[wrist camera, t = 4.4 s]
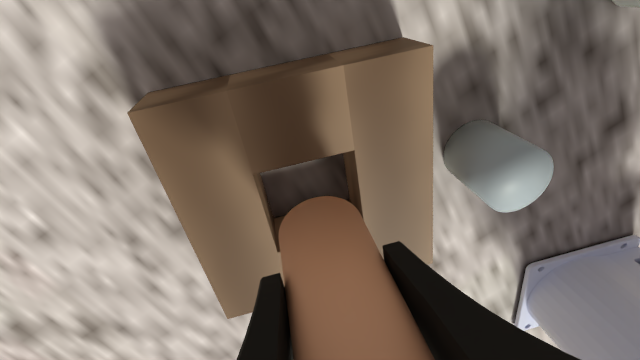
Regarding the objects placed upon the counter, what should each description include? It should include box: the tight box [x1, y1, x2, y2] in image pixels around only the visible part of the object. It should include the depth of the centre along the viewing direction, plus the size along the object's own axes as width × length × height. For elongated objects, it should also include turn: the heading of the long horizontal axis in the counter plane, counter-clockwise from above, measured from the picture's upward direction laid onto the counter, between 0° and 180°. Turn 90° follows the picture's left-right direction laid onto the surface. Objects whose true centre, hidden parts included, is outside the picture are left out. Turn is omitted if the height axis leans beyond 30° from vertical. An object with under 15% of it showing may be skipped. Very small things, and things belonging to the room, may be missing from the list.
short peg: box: [443, 120, 554, 212], centre depth 18 cm, size 4×4×4 cm
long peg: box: [279, 196, 435, 360], centre depth 10 cm, size 4×4×8 cm
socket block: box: [128, 37, 433, 319], centre depth 17 cm, size 12×12×3 cm
